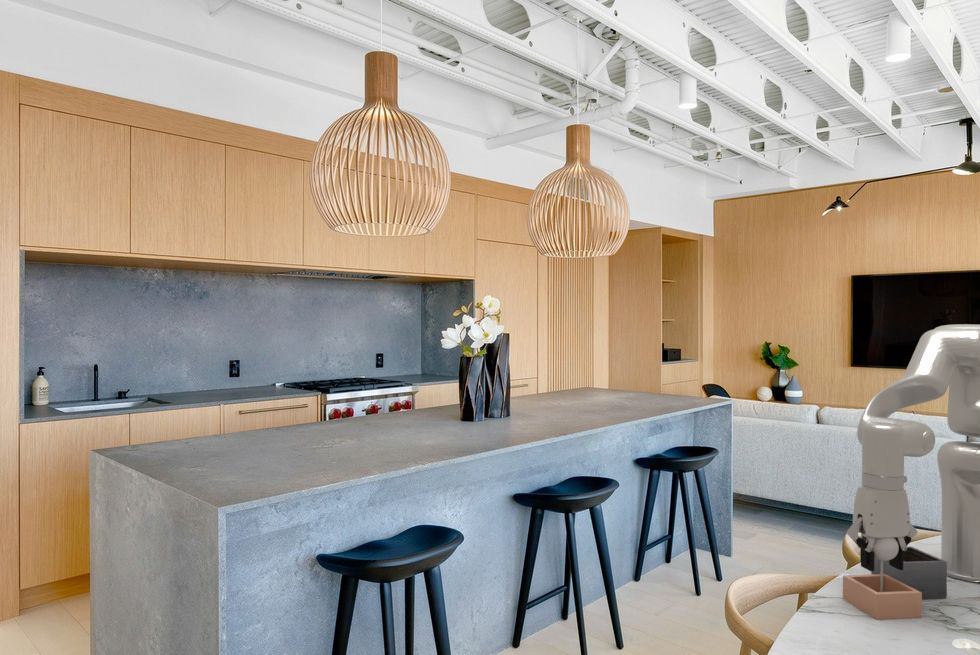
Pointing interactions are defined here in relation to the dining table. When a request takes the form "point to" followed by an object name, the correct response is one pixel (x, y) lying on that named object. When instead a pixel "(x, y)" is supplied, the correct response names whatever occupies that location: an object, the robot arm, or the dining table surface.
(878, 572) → the box
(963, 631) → the dining table surface
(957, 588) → the dining table surface
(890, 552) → the lollipop
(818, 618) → the dining table surface
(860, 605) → the tool holder
